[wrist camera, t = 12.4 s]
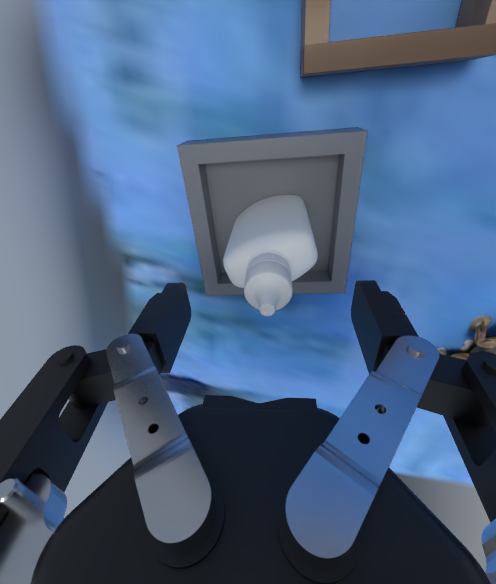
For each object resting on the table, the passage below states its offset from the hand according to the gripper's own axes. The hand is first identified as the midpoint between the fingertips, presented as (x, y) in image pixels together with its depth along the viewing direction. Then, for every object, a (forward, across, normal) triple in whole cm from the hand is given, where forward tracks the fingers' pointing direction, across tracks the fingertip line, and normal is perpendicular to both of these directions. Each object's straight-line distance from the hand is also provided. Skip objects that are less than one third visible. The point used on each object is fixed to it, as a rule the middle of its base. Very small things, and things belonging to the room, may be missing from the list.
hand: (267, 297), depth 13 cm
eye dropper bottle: (+11, 0, 0) cm, 11 cm away
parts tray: (+12, 0, 0) cm, 12 cm away
